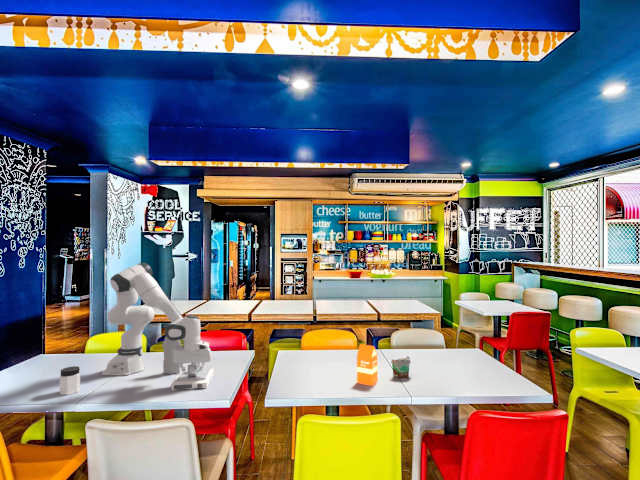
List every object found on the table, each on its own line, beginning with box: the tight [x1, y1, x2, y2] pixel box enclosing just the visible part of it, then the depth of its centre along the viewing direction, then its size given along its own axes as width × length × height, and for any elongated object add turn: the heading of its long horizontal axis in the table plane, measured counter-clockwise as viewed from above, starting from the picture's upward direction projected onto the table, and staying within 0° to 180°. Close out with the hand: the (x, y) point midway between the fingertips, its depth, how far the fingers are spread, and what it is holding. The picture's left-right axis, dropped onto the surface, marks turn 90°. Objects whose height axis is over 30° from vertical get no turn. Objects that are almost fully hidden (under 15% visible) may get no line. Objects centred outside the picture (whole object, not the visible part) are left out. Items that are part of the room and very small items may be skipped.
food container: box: [390, 355, 411, 379], centre depth 203 cm, size 12×6×10 cm, turn 117°
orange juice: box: [356, 343, 378, 386], centre depth 197 cm, size 8×9×20 cm
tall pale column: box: [162, 336, 182, 375], centre depth 213 cm, size 11×4×22 cm, turn 93°
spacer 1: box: [190, 362, 201, 372], centre depth 205 cm, size 5×5×6 cm
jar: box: [59, 365, 81, 396], centre depth 187 cm, size 9×8×12 cm
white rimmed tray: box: [170, 366, 215, 391], centre depth 199 cm, size 18×22×4 cm
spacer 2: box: [187, 363, 197, 378], centre depth 197 cm, size 5×5×6 cm
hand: (192, 370), depth 197 cm, fingers open, 8 cm apart
